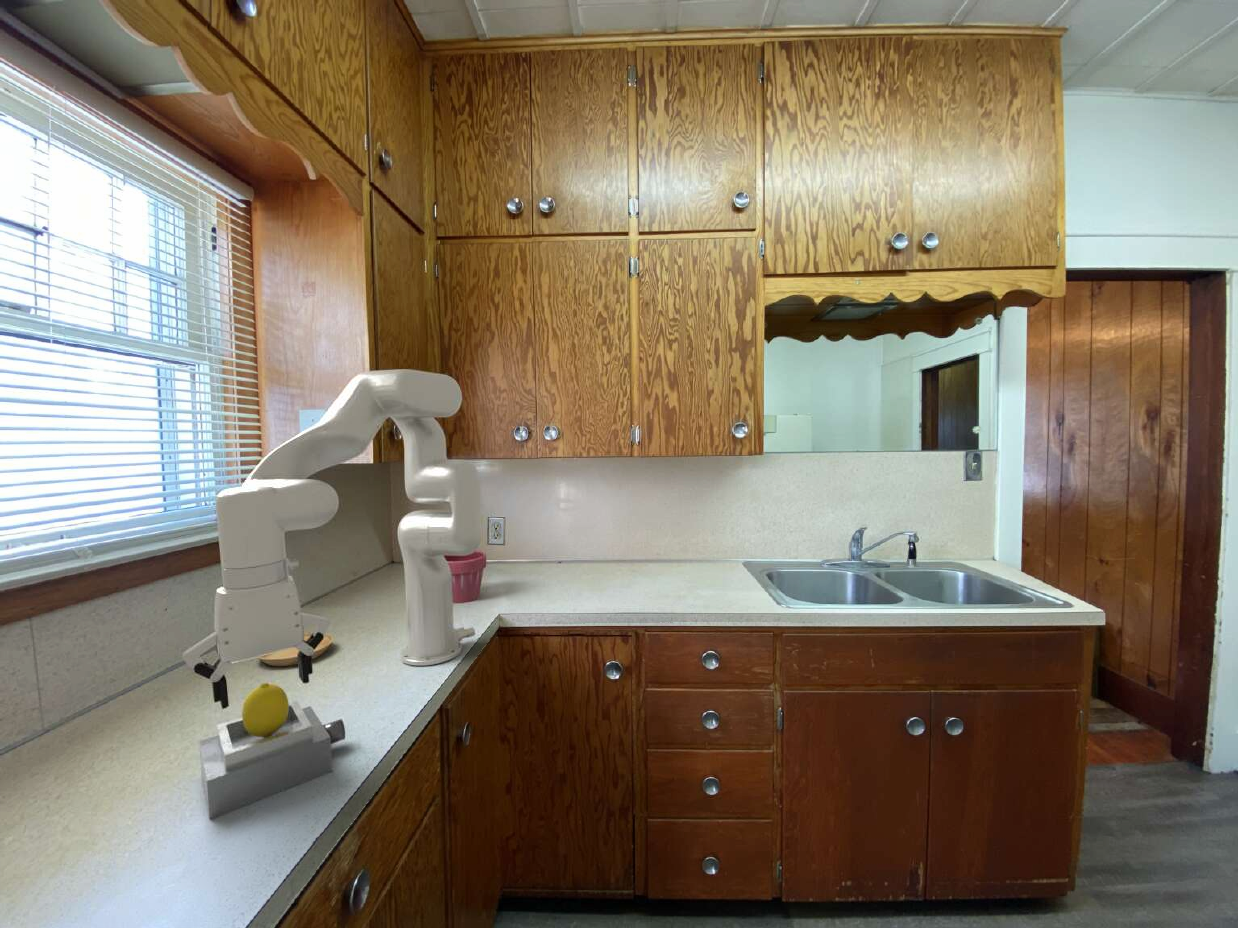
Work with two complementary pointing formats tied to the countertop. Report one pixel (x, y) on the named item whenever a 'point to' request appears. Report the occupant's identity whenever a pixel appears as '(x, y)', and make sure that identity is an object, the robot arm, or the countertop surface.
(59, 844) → the countertop surface
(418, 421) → the robot arm
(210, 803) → the housing
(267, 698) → the lemon
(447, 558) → the plant pot
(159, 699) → the countertop surface
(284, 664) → the plant saucer
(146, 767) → the countertop surface
